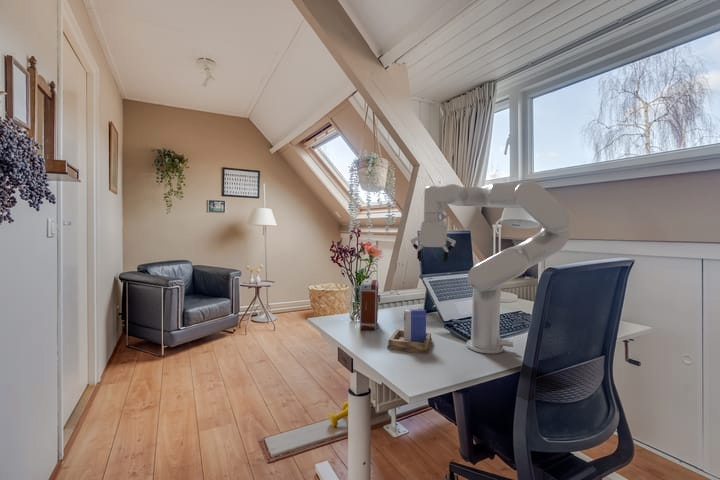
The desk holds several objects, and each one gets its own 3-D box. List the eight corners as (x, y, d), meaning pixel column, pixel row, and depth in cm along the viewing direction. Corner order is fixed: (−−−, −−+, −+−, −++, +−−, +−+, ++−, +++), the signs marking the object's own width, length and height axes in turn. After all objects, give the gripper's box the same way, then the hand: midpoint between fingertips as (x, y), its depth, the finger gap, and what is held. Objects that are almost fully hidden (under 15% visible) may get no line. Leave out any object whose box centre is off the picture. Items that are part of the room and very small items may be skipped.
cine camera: (380, 318, 159) (381, 277, 158) (378, 331, 140) (379, 284, 139) (361, 318, 160) (361, 276, 159) (356, 330, 140) (357, 283, 140)
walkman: (423, 340, 126) (423, 308, 126) (425, 342, 124) (426, 309, 124) (403, 341, 125) (403, 308, 125) (405, 343, 122) (405, 310, 122)
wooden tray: (431, 341, 129) (432, 332, 129) (426, 354, 116) (427, 344, 115) (396, 336, 133) (396, 328, 133) (387, 348, 120) (387, 339, 120)
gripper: (457, 218, 132) (455, 261, 132) (413, 218, 137) (412, 259, 138) (455, 218, 125) (454, 263, 125) (409, 217, 130) (408, 261, 131)
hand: (432, 261), depth 132 cm, fingers open, 9 cm apart
